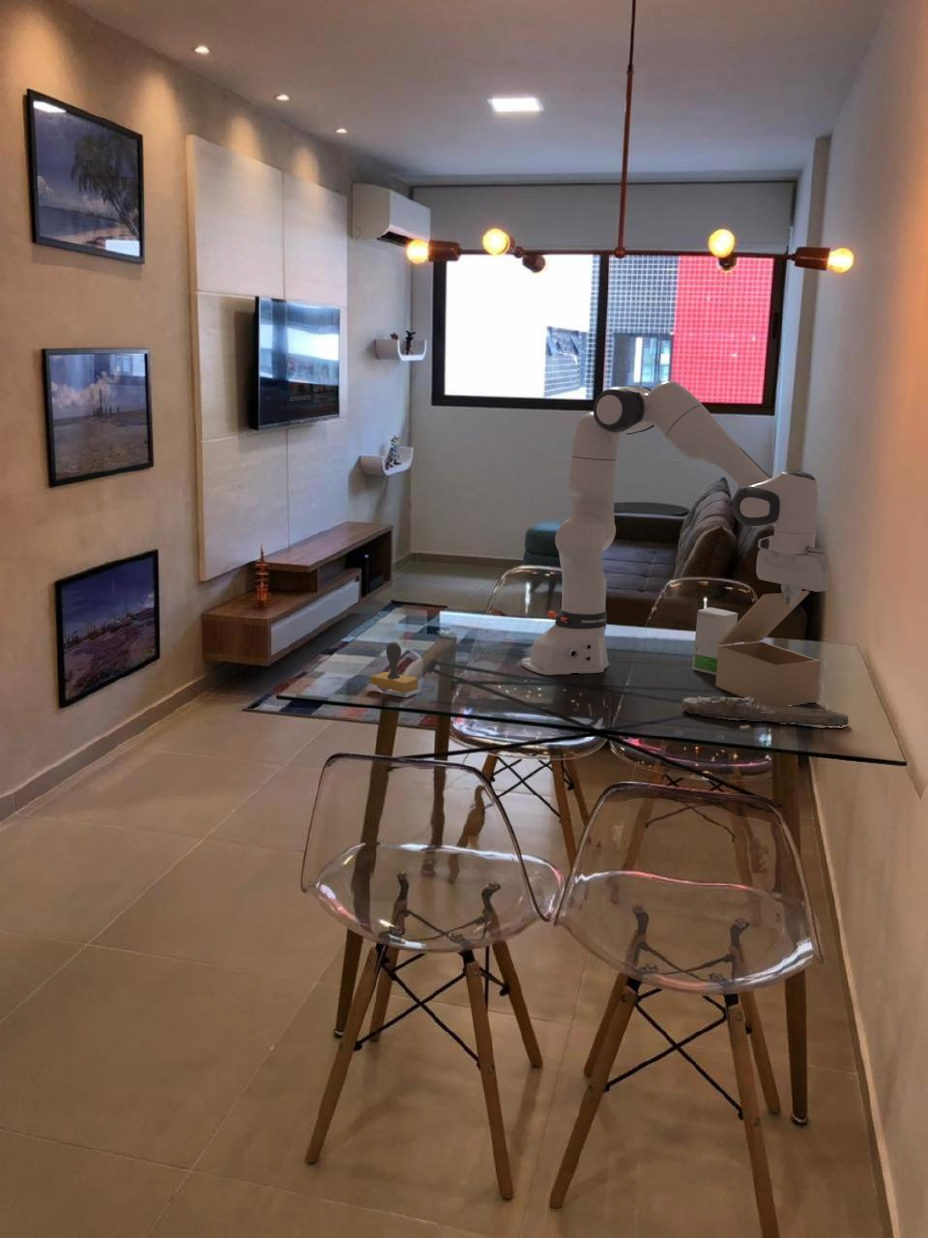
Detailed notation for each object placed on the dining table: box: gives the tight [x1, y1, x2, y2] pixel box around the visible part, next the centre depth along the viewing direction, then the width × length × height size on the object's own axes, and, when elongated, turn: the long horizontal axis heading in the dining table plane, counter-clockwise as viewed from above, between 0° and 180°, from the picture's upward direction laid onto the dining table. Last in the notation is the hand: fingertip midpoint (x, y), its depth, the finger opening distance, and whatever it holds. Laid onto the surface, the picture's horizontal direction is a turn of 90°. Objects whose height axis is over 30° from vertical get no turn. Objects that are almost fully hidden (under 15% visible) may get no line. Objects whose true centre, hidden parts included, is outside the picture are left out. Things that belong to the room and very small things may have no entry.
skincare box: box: [691, 606, 739, 676], centre depth 269 cm, size 8×7×16 cm
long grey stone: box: [681, 696, 849, 727], centre depth 232 cm, size 35×5×10 cm
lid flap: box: [718, 590, 810, 645], centre depth 249 cm, size 13×20×1 cm
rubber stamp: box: [369, 641, 419, 693], centre depth 246 cm, size 10×6×12 cm, turn 56°
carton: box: [715, 640, 821, 706], centre depth 250 cm, size 13×20×10 cm, turn 25°
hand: (790, 605), depth 240 cm, fingers closed
